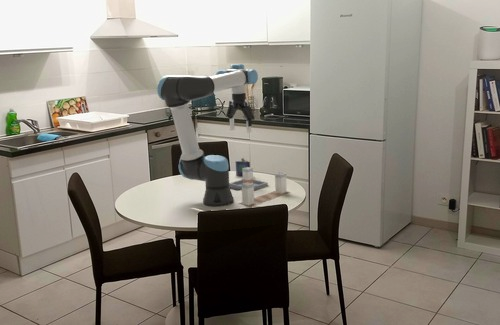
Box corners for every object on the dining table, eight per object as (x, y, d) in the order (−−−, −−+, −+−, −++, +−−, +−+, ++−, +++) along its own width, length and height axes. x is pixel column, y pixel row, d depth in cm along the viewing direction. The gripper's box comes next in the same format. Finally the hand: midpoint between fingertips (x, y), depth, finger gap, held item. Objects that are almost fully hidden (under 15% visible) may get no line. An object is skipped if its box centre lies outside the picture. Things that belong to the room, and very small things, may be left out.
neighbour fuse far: (281, 193, 259) (281, 175, 257) (275, 192, 262) (274, 173, 260) (286, 192, 262) (286, 173, 260) (280, 190, 265) (280, 172, 263)
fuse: (248, 205, 243) (247, 185, 240) (242, 203, 246) (241, 184, 243) (254, 203, 246) (253, 183, 243) (248, 201, 248) (247, 182, 246)
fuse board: (250, 208, 241) (249, 206, 241) (238, 205, 246) (238, 203, 246) (290, 193, 261) (290, 192, 261) (279, 191, 267) (279, 189, 267)
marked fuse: (248, 187, 273) (247, 169, 271) (243, 186, 276) (242, 168, 274) (253, 185, 276) (252, 167, 274) (248, 184, 279) (247, 166, 276)
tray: (249, 192, 266) (249, 188, 265) (228, 187, 277) (228, 183, 276) (267, 186, 275) (267, 182, 275) (246, 182, 286) (246, 177, 286)
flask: (235, 175, 301) (234, 158, 299) (237, 174, 304) (236, 157, 302) (249, 176, 298) (248, 159, 295) (251, 175, 300) (250, 158, 298)
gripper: (259, 93, 271) (261, 132, 276) (228, 91, 288) (230, 127, 293) (249, 94, 266) (251, 134, 271) (218, 92, 283) (220, 129, 288)
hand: (240, 131), depth 282 cm, fingers open, 13 cm apart
